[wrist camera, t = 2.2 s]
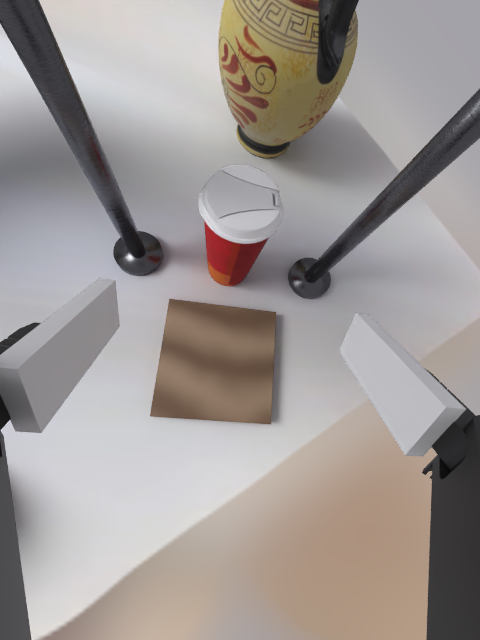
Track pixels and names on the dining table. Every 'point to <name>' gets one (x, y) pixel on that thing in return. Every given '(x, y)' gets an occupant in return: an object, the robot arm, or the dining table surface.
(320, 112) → the amphora
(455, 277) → the dining table surface
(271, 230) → the paper cup
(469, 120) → the frame
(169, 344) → the walnut board
